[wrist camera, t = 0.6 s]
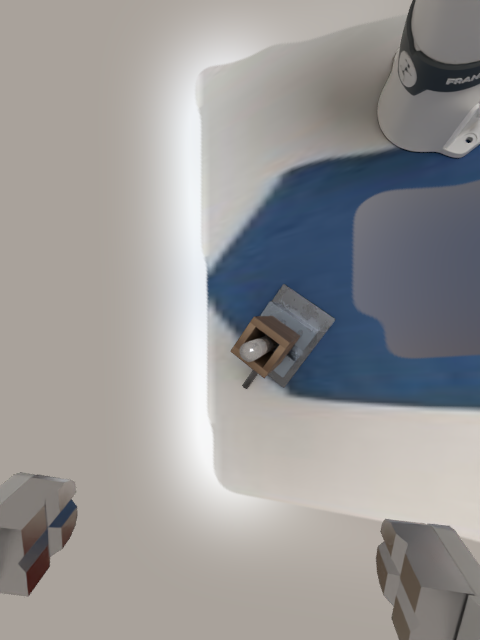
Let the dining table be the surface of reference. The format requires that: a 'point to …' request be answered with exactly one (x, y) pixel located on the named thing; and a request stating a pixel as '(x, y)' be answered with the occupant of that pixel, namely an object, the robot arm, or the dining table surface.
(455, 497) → the dining table surface
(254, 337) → the walnut sleeve
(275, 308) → the vise
